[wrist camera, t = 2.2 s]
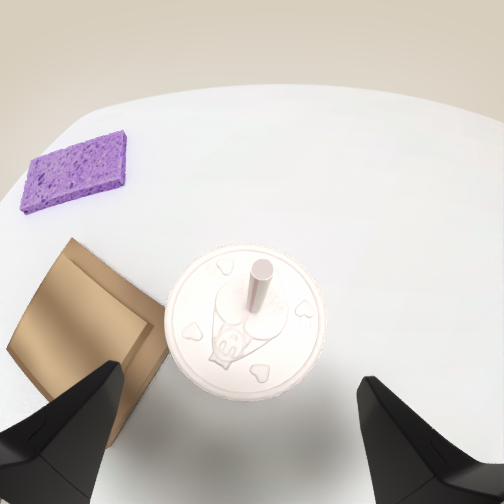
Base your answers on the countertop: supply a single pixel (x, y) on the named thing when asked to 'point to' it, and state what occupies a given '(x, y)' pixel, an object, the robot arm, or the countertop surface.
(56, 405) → the robot arm
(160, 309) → the walnut base
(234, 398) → the smoothie
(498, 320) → the countertop surface
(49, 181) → the sponges
